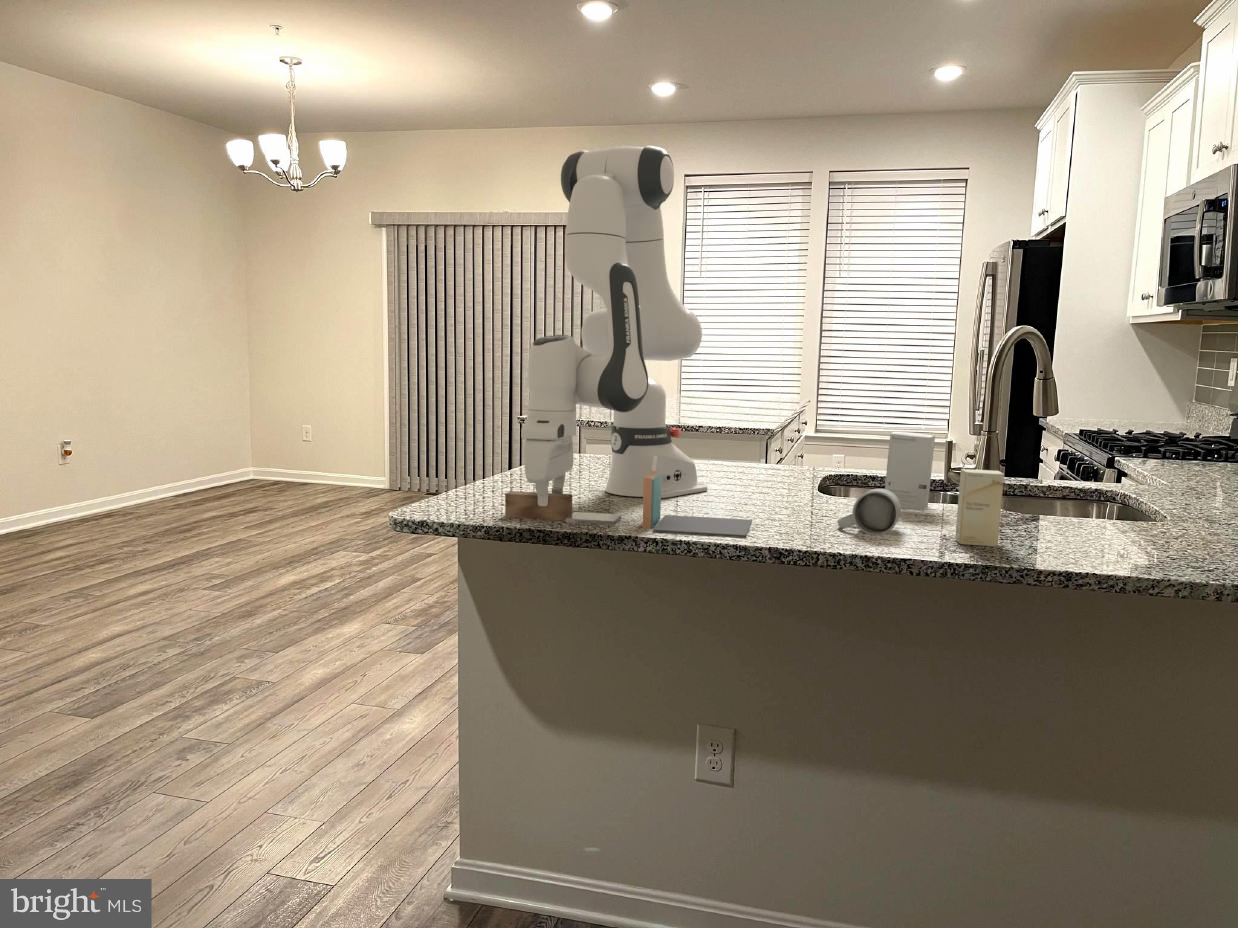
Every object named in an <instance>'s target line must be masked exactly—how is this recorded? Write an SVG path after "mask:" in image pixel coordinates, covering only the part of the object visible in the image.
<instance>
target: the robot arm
mask: <svg viewBox="0 0 1238 928" xmlns="http://www.w3.org/2000/svg"><path fill="white" fill-rule="evenodd" d="M674 183H675V171H674V164H673V160H672V158H671V155H670V154H669V153H668V152H667V151H666V150H665V149H664V148H662V147H658V146H653V145H646V146H634V145H633V146H631V145H629V146H628V145H621V146H613V147H606V148H600V149H599V148H598V149H594V150H586V149H585V150H580V151H577V152H574V153H571V154H569V156H567V158H566V159H565V161H564V163H563V165H562V168H561V172H560V185H561V186H560V187H561V190H562V192H563V195H564V196H565V199H566V200H567V201H568V202H569V203H568V204H569V205H568V210H567V216H566V225H565V226H566V227H565V228H566V229H565V241H564V242H565V243H564V245H565V246H564V256H565V263H566V268H567V269H568V272H569V273H570V275H571V276H572V277H573V278H574V279H575V281H577V282H578V283H579V284H581V285H582V286H584V287H586V288H587V289H590V290H591V291H593V292H594V293H596V294H597V295H598V296H599V297H600V298H601V300H602V302H604V305H605V308H602V309H597V310H594V311H593V310H592V311H591V312H589V314H587V316H586V317H585V319H584V321H583V323H582V327H581V334H580V335H581V341H582V344H583V346H584V348H585V349H584V348H583V347H581V345H579V344H578V343H577V342H576V341H575V340H574V337H573V336H571V335H569V334H556V335H547V336H543V337H538V338H537V339H536V340H534V341H533V342H532V344H531V346H530V349H529V354H528V360H527V361H528V362H527V389H528V392H529V397H528V398H529V399H528V402H527V403H528V404H527V405H526V408H527V409H526V412H527V413H526V421H525V422H524V424H523V425H522V427H521V429H520V432H521V433H520V434H521V435H520V436H521V439H523V440H525V441H524V444H523V445H524V446H523V455H524V456H523V458H524V475H525V478H526V481H527V483H530V484H534V486H535V487H534V488H535V490H536V491H535V492H536V493H537V496H538V505H539V506H547V505H549V503H550V501H549V500H550V495H548V493H549V487H550V482H551V481H552V480H553V481H552V488H551V493H555V494H564V485H565V481H566V473H568V472H570V471H572V470H573V466H574V441H573V437H575V436H576V435H577V405H578V406H585V407H590V408H600V409H607V410H609V411H613V425H612V426H611V431H610V433H611V436H610V440H611V441H610V443H611V444H610V445H611V451H612V453H611V461H610V470H609V474H608V478H607V482H606V485H605V490H604V491H605V492H606V493H608V494H609V493H610V494H614V495H617V496H623V497H625V496H626V497H639V498H641V497H642V498H643V483H644V477H645V476H646V475H648V474H649V473H650V472H651V471H660V473H661V499H666V498H672V497H677V496H683V495H688V494H695V493H700V492H701V493H702V492H707V491H708V485H706V483H703V482H701V481H700V482H699V481H698V475H697V473H698V471H697V467H696V464H695V462H694V461H693V459H691V458H690V457H689V456H688V455H687V454H685V453H684V452H683V451H682V450H681V449H680V448H678V447H677V446H676V445H675V444H673V443H672V442H673V440H672V438H676V439H679V438H681V436H682V430H681V429H680V428H675V427H672V428H669V427H668V426H666V413H667V405H666V403H667V402H666V401H667V395H666V391H665V389H664V387H663V386H662V384H660V382H658V381H657V380H656V379H653V378H652V377H650V376H649V375H648V370H647V365H646V361H661V362H662V361H663V362H665V361H667V362H671V361H678V360H683V359H687V358H691V357H692V356H693V355H695V354H696V352H697V351H698V349H699V348H700V345H701V343H702V338H703V331H702V326H701V323H700V320H699V318H698V316H697V315H696V314H695V313H694V312H693V311H691V310H690V309H689V308H687V307H686V306H685V304H683V303H682V302H681V301H680V299H679V298H678V297H677V296H676V294H675V292H674V291H673V289H672V287H671V284H670V281H669V277H668V273H667V267H666V265H667V264H666V256H665V239H664V238H665V237H664V235H665V234H664V221H663V215H662V209H661V206H662V204H663V203H665V202H666V200H668V198H669V196H670V195H671V194H672V191H673V188H674Z"/></svg>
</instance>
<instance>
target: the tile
mask: <svg viewBox="0 0 1238 928" xmlns="http://www.w3.org/2000/svg"><path fill="white" fill-rule="evenodd" d="M642 498H643V499H642V529H650V530H652V528H654V527H655V526H656V525H657V524H658V523H659V522H660V520H661V513H662V512H661V511H662V510H661V508H662V507H661V506H662V505H661V503H662V498H661V473H660V471H651V472H650V473H649V474H648V475H646V476H645V477H644V483H643V497H642Z"/></svg>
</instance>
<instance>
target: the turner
mask: <svg viewBox="0 0 1238 928" xmlns="http://www.w3.org/2000/svg"><path fill="white" fill-rule="evenodd" d="M548 495H550V500H549V501H550V503H549V505H547V506H539V505H538V496H537V492H536V491H535V492H532V491H531V492H530V491H518V490H517V491H513V490H510V491H508V492H506V493H505V494H504V500H505V502H504V504H505V507H504V508H505V509H504V510H505V511H504V512H505V513H504V514H505V518H518V519H532V520H533V519H534V520H551V521H565V523H568V524H569V523H570V524H585V525H586V524H587V525H603V526H604V525H605V526H616V524H618V523H619V522H620V521H621V520H622V518H623V517H622V516H623V514H616V513H615V514H614V513H597V512H580V511H574V512H573V494H572V493H571V494H569V493H563V494H555V493H552V492H548Z"/></svg>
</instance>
